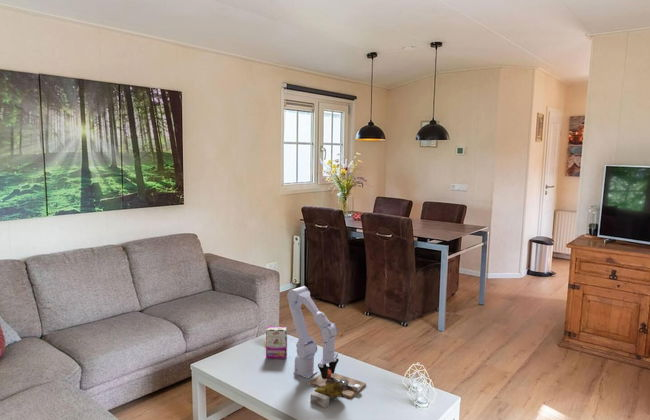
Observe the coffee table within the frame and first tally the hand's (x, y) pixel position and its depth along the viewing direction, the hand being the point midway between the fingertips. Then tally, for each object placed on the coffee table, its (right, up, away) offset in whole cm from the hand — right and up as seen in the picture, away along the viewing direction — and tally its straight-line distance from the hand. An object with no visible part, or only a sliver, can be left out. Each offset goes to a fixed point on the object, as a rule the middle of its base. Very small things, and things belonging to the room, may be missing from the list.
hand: (328, 375), depth 224 cm
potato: (0, -6, -14) cm, 15 cm away
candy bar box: (-28, 0, +27) cm, 39 cm away
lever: (+7, -3, -4) cm, 8 cm away
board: (+1, -5, -7) cm, 8 cm away
